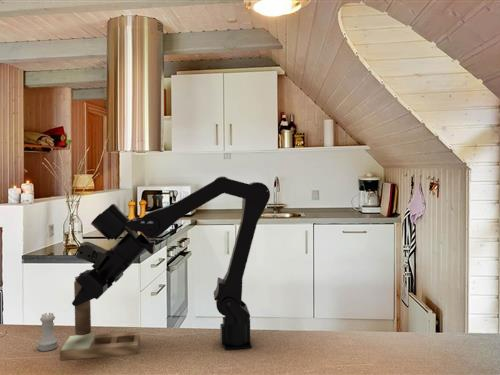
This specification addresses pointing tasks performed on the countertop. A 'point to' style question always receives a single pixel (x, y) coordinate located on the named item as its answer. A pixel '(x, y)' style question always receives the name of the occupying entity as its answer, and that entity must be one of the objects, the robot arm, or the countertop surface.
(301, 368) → the countertop surface
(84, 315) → the pepper mill
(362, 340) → the countertop surface
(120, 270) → the robot arm
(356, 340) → the countertop surface
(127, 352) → the board
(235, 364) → the countertop surface
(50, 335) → the rook chess piece
